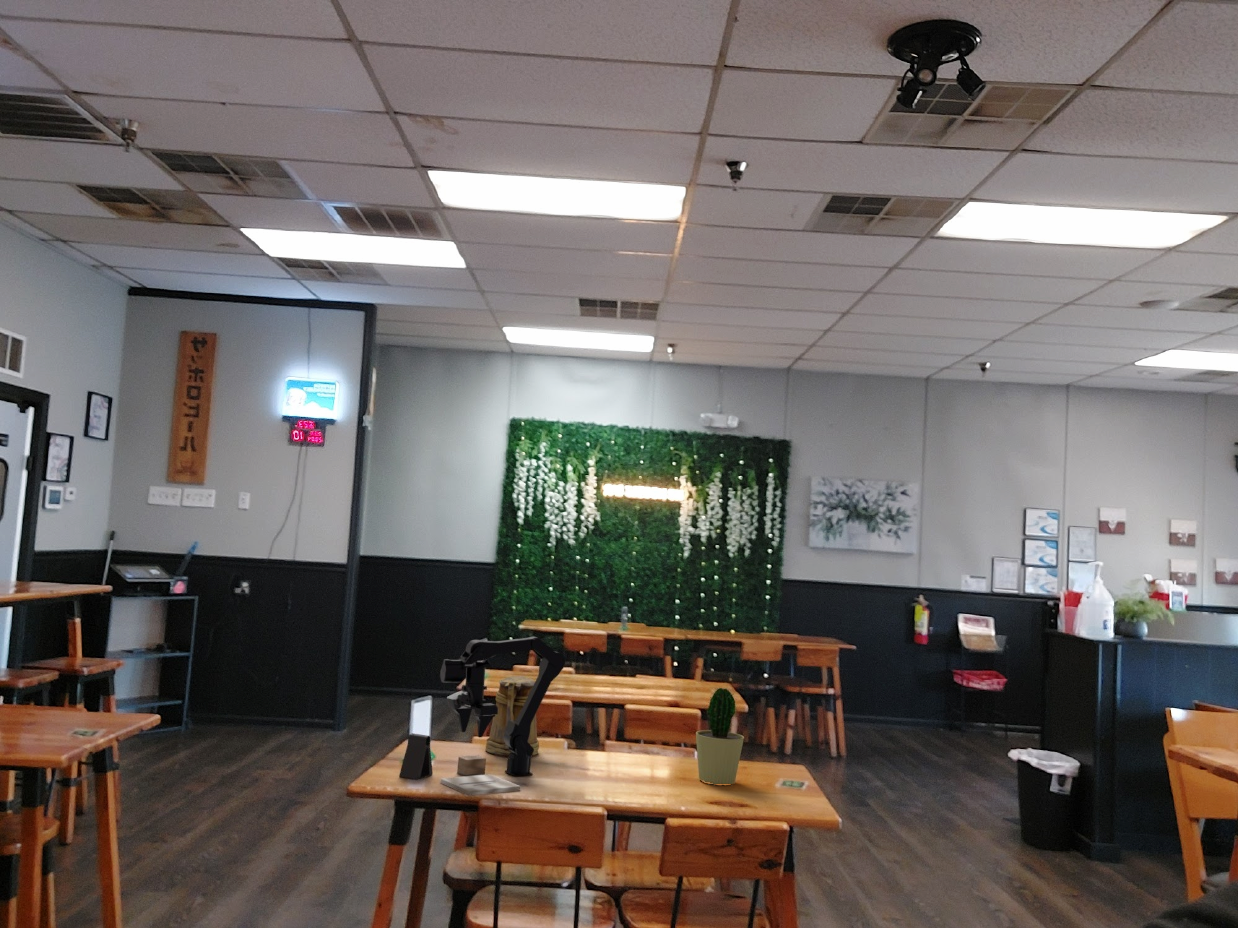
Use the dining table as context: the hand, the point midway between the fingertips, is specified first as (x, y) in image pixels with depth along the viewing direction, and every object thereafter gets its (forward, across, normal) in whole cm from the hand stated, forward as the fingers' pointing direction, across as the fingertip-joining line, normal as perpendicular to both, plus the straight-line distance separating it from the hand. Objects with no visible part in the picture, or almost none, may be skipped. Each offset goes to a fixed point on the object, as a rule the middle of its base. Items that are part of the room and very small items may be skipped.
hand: (471, 734), depth 308 cm
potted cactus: (+14, +37, +69) cm, 80 cm away
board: (+12, +14, -5) cm, 19 cm away
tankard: (+13, -22, +31) cm, 40 cm away
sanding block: (+12, -1, +1) cm, 12 cm away
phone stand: (+12, -4, -16) cm, 20 cm away
